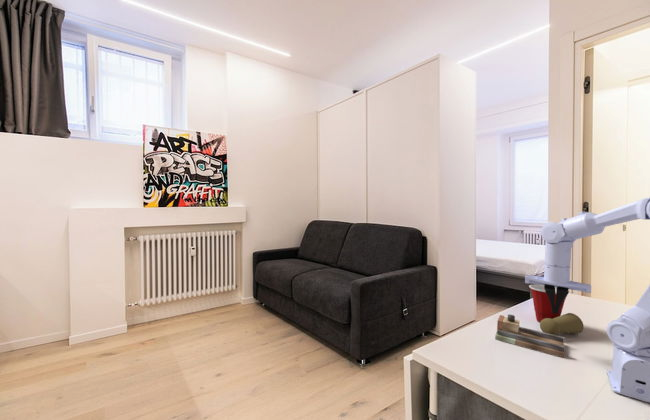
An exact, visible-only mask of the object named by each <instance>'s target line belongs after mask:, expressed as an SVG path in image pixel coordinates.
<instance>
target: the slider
mask: <svg viewBox="0 0 650 420" xmlns="http://www.w3.org/2000/svg"><path fill="white" fill-rule="evenodd" d="M519 327H520V320H519V319H516V316H515V315H514V314H507V317H506V316H504V319H503V322H502V331H506V332H510V333H514V334H519Z"/></svg>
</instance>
